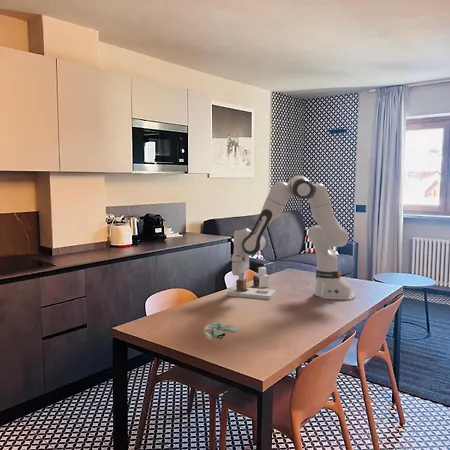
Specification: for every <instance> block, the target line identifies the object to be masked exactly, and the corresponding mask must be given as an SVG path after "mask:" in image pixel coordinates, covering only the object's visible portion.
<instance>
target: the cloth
mask: <svg viewBox="0 0 450 450" xmlns="http://www.w3.org/2000/svg"><path fill="white" fill-rule="evenodd" d="M210 325H211V326H208V327H209V329H204V330H203V329H202V332H203V331H204V333H205V335H206V336H207V338H208V339H211V338H210V337H209V336H208V335H207V334H206V332H208V333H209V334H210V335H212V334H213V335H214V336H215V337H214V336H213V335H212V336H213V337H214V338H216V339H217V338H218V339H220V340H222V337H223V338H224V337H225V336H226V333H225V332H229V333H238V332H239V331H238V330H239V327H238V326H231V325H230V326H226V325H227V324H226V323H223V322H217V321H216V322H213V323H212V322H211V323H210ZM210 328H211V329H210ZM213 329H217V330H213ZM219 329H220V330H219ZM223 330H224V332H223ZM204 333H203V334H204ZM219 334H220V335H219ZM205 335H204V336H205ZM221 335H222V336H221ZM217 336H218V337H217ZM207 338H206V339H207ZM208 339H207V340H208Z"/></svg>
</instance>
